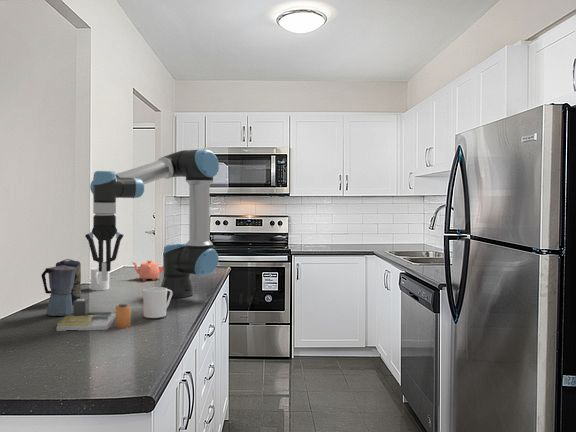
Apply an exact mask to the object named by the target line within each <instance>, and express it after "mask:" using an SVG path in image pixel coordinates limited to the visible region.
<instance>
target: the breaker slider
mask: <svg viewBox="0 0 576 432" xmlns="http://www.w3.org/2000/svg"><path fill="white" fill-rule="evenodd" d="M72 310H73V316H77V315H88V312H89V299H88V298H81V299H76V300H75V301H74V302H73V303H72Z"/></svg>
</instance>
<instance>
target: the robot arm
mask: <svg viewBox="0 0 576 432" xmlns="http://www.w3.org/2000/svg"><path fill="white" fill-rule="evenodd" d="M219 170H220V163H219V159H218V157H217V156H216V155H215V153H214V152H213V151H211V150H209V149H201V148H200V149H185V150H179V151H176V152H173V153H170V154H167V155H165V156H160V157H159V158H158V159H157V160H156V161H154V162H151V163H150V162H149V163H146V164H143V165H140V166H137V167H134V168H133V167H132V168H130V169H127V170H125V171H121V172H117V173H116V172H115V171H114V170H113V171H111V170H96V171H94V173H93V178H92V180H91V182H90V186H89V188H90V191H91V193H92V196H93V202H92V203H93V204H92V206H93V208H92V211H93V214H94V215H93V220H92V221H93V222H92V223H93V226H92V229H91V231H90V232H89V233H87V234H85V235H84V236H85V238H86V240H87V241H88V245H89V250H90V252H91V257H92V259H93V261H94V262H97V263H98V267H99V272H102V281H107V280H108V271H109V272H111V266H112V265H111V263H112V262H114V261H116V259H117V257H118V252H119V248H120V245H121V240H122V239H124V238H123V237H124V234H123V233H120V232H119V231H118V229H117V226H116V225H117V216H116V215H115V214H116V213H117V212H116V211H117V204H116V203H117V201H116V200H117V199H122V198H123V199H124V198H125V199H135V198H141V197H142V196H143V194H144V193H145V185H146V184H147V185H148V184H149V183H152V182H155V181H159V180H162V179H165V180H166V179H172V178H177V177H178V178H179V177H184V178H185V182H186V183H187V184H188V185H189V193H188V194H189V198H188V199H189V202H188V203H189V210H188V213H189V214H188V215H189V216H188V217H189V221H188V222H189V223H188V224H189V227H188V228H189V232H188V233H189V235H188V236H189V239H188V241H187V242H186V243H177V244H175V243H174V244H167V245H165V246H164V248H163V253H162V254H163V255H162V256H163V258H162V259H163V271H162V273H163V274H162V275H163V276H162V278H163V279H162V282H161V284H160V287H163V288H167V289H169V290H171V291H172V297H171V299H172V298H174V299H178V298H179V299H180V298H187V296H188V297H192V296H194V294H195V293H194V287H193V283H192V280H191V276H190V275H196V276H199V277H200V276H209V275H211V274H212V273H214V271H215V270H217V269H216V268H217V267H218V264H219V254H218V252H217V250H216V249H214V244H213V242H212V241H211V240H210V187H211V184H212V183H213V182H214V177H216V176H217V174H218V172H219ZM94 237H95V238H96V239H97V243H98V245H97V246H98V251H97V248H96V245H95V241H94ZM114 237H115V238H116V240H115V243H114V247H113V251H112V239H114ZM104 242H105V245H106V246H105V261H104ZM191 295H192V296H191ZM169 296H170V291H167V298H168V299H169Z"/></svg>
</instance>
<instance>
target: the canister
mask: <svg viewBox="0 0 576 432" xmlns="http://www.w3.org/2000/svg"><path fill="white" fill-rule="evenodd" d="M62 261H65V263H64V265H65V266H70V267H75V268H76V272H75V278H74V284H73V288H72V290H71V298H72V304H73V302H74V301H75V300H76V299H82V298H81V297H82V296H81V295H82V293H81V290H82V287H81V286H82V285H81V281H82V272H81V269H82V268H81V265H82V264H81V262H80V261H79V260H74V259H71V258H69V259H67V258H66V259H63V260H62ZM60 265H61V262H60V261H58V262H56V263H55V266H60Z"/></svg>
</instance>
